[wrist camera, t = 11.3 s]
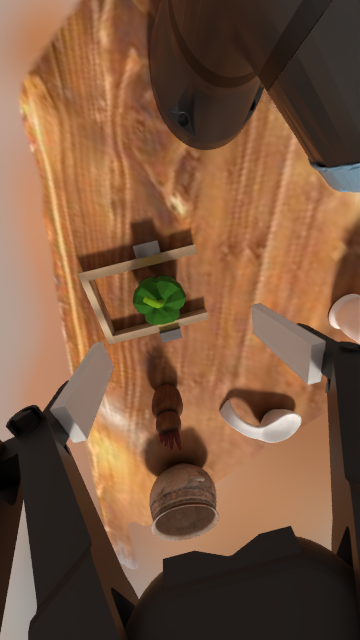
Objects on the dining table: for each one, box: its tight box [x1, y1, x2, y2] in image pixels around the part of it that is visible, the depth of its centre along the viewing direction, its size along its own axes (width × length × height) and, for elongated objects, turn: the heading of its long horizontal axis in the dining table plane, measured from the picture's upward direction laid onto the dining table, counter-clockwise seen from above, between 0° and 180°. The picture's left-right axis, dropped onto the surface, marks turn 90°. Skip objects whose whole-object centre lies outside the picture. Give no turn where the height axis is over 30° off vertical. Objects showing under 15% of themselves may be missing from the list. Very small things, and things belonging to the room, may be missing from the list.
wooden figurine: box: [152, 384, 183, 452], centre depth 37 cm, size 7×6×15 cm
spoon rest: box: [220, 400, 301, 443], centre depth 48 cm, size 24×12×7 cm, turn 68°
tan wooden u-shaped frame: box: [78, 240, 209, 345], centre depth 33 cm, size 18×20×4 cm
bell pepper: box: [133, 275, 186, 325], centre depth 30 cm, size 8×8×10 cm
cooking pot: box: [150, 463, 219, 541], centre depth 52 cm, size 25×19×12 cm
